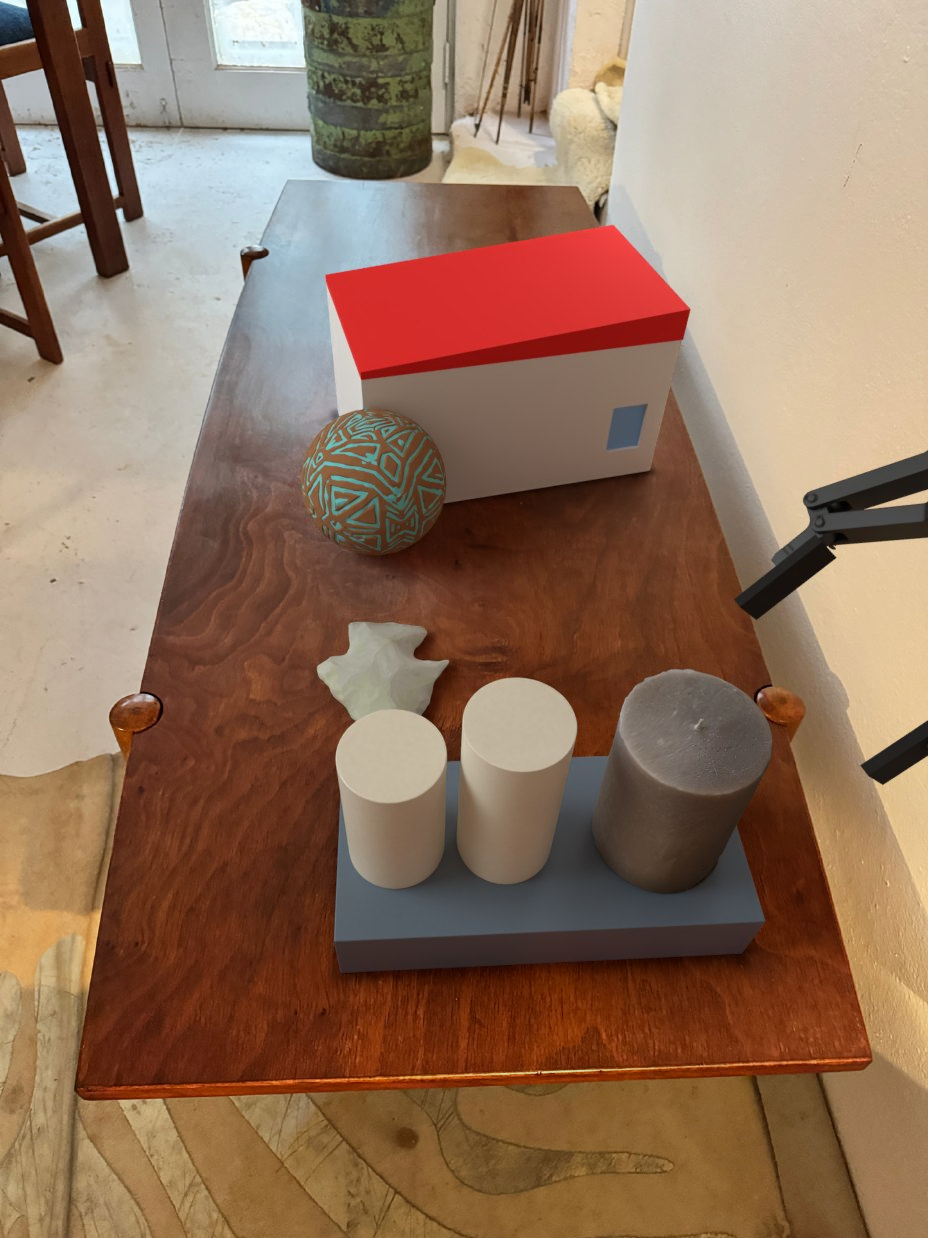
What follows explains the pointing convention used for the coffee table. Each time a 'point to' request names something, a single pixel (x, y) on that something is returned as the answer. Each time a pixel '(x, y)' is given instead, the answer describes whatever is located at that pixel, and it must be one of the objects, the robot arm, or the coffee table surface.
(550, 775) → the tall ivory candle
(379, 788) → the short ivory candle
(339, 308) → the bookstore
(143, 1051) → the coffee table surface
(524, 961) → the plinth
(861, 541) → the robot arm
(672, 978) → the coffee table surface
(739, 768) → the pillar candle
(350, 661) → the arrowhead
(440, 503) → the decorative sphere
